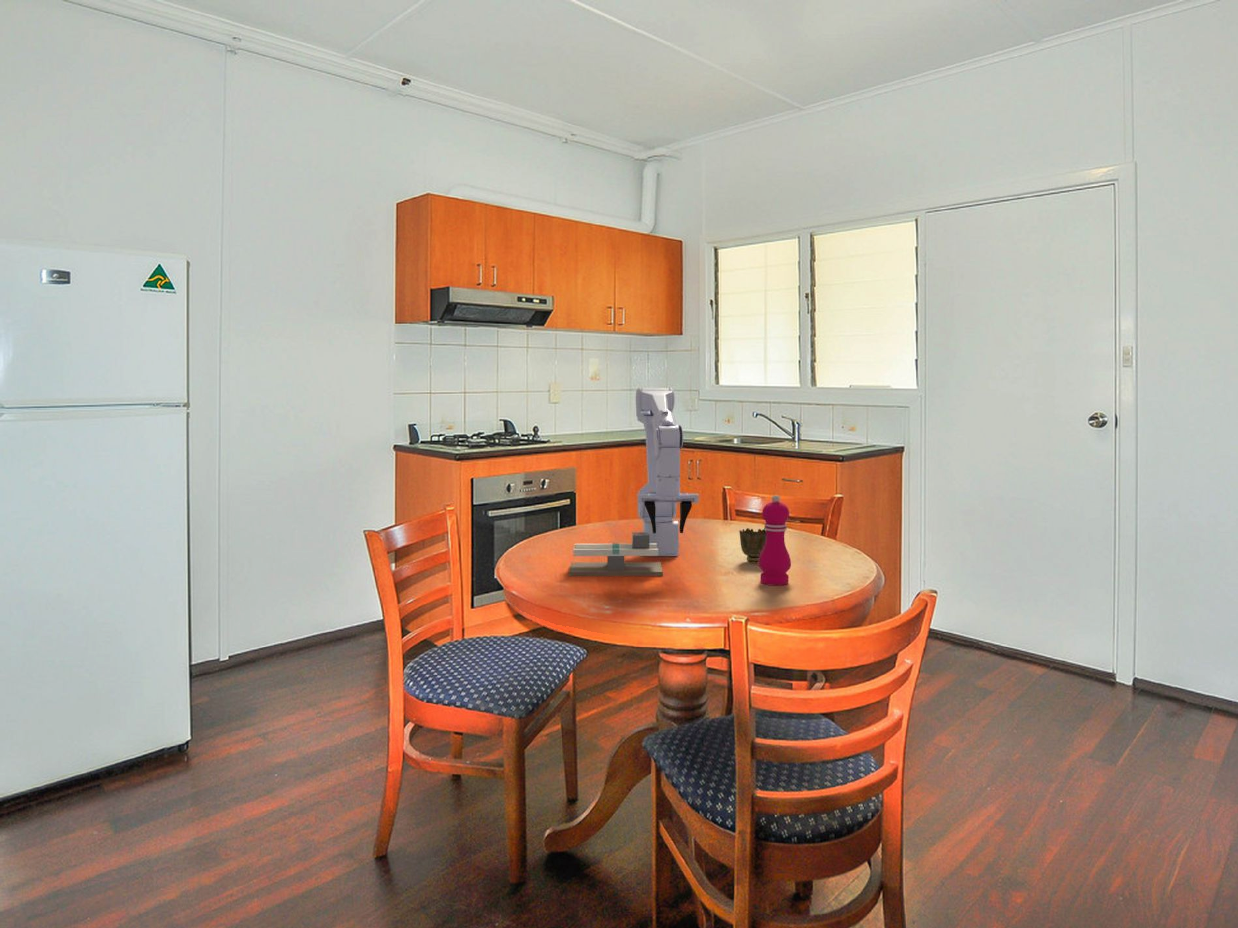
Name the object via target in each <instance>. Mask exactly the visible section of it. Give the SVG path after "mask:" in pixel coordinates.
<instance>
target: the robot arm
mask: <svg viewBox="0 0 1238 928" xmlns="http://www.w3.org/2000/svg"><path fill="white" fill-rule="evenodd" d="M675 398H676V397H675V390H674V389H673V388H672V387H648V388H646V387H645V388H644V387H642V388H641V387H638V388H637V389H636V390H635V409H636V410H635V411H636V413H635V414H636V418H637V421H638V422H640V423H642V424H643V428H644V432H645V445H646V468H647V469H646V470H647V471H646V472H647V473H646V474H647V483H646V484H645V485H644V486H642V487H641V488H640V489H639V490H638V492H637V516H638V518H639V519H640V520H642V525H643V527H642V532H649V543H657V549H658V556H657V557H679V556H680V555H679V548H680V541H679V540H680V539H679V534H684V530H685V525H686V522H687V519H688V516H689V514H690V511H691V509H692V507H693V504H692V503H694V504H699V503H700V502H699V501H700V495H699V494H698V493H684V492H683V493H682V492H681V450H682V449H683V445H684V432H683V427H682V425H681V424H678V423H677V421H676V417H675V415H674V413H673V412H674V409H675V408H674V407H675ZM677 503H679V506H680V507H679V521H678V520H673V519H675V518H676V516H677V512H678V511H677V509H678V508H677Z"/></svg>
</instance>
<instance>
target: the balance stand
mask: <svg viewBox="0 0 1238 928" xmlns="http://www.w3.org/2000/svg"><path fill="white" fill-rule="evenodd" d="M572 550H573V551H572V553H573V557H606V558H607V560H606V561H607V562H606V561H605V562H604V561H601V562H600V561H599V562H594V561H593V562H590V561H588V562H587V561H585V562H584V561H583V562H581V561H579V562H577V561H576V562H570V565H569V571H568V577H664V571H663V568H662V564H661V561H625V557H659V556H658V549H657V543H649V549H632V543H619V542H612V543H574V548H573V549H572Z"/></svg>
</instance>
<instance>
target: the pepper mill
mask: <svg viewBox="0 0 1238 928" xmlns="http://www.w3.org/2000/svg"><path fill="white" fill-rule="evenodd" d="M780 500H781V498H780V496H779V495H778V494H774V495H773V496H772V497H771V501H770V502H767V503H766V504H765V505H764V506H763V508H762V510H761V511H762V512H761V516H762V518H763V520H764V521H765V522H764V527H763V529H765V530H766V542H765V546H764V548H763V550H762V552H761V554H760V557H759V563H758V567H759V568H760V570H761V571H762V572H761V573H760V583H762V584H763V585H768V586H786V585H787V584H789V574H788V573H787V572H788V571H789V570H790V569H791V566H792V560H791V556H790V553H789V551H788V549H787V547H786V542H785V535H786V534H785V532H786V531H787V530H788V529H787V526H788V524H787V521H788V519H789V518H790V510H789V508H788V506H787V505H786V504H785V503H783V502H781V501H780Z"/></svg>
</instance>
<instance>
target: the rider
mask: <svg viewBox="0 0 1238 928" xmlns="http://www.w3.org/2000/svg"><path fill="white" fill-rule="evenodd" d="M631 539H632V540H631V542H632V543H631V544H632V549H649V532H643V531H640V532H636V531H634V532H632V533H631Z"/></svg>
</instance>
